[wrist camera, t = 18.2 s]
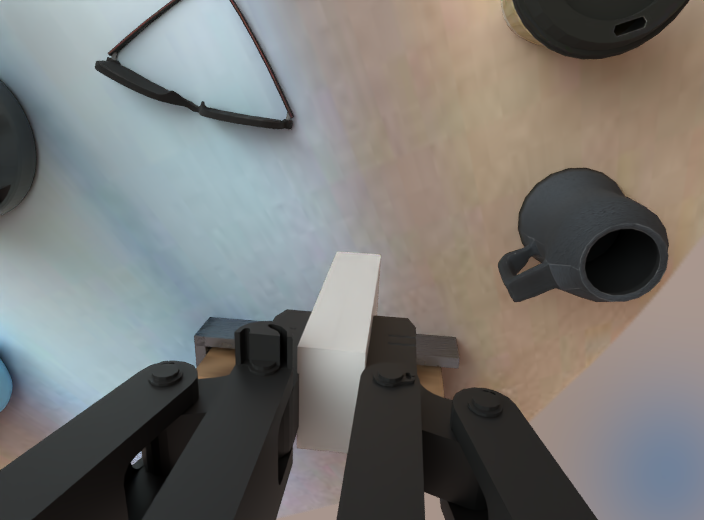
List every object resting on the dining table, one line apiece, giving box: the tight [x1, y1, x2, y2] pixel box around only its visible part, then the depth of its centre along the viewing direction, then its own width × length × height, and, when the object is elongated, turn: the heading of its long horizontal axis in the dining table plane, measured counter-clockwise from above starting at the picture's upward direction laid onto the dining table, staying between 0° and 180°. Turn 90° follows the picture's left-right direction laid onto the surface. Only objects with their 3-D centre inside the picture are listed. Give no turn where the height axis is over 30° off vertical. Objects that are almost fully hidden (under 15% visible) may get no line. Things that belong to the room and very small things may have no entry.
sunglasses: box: [95, 0, 294, 129], centre depth 40 cm, size 17×14×5 cm
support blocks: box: [416, 334, 459, 368], centre depth 49 cm, size 6×9×4 cm, turn 178°
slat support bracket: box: [194, 317, 258, 367], centre depth 50 cm, size 8×9×4 cm
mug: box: [498, 168, 669, 302], centre depth 39 cm, size 12×9×11 cm
